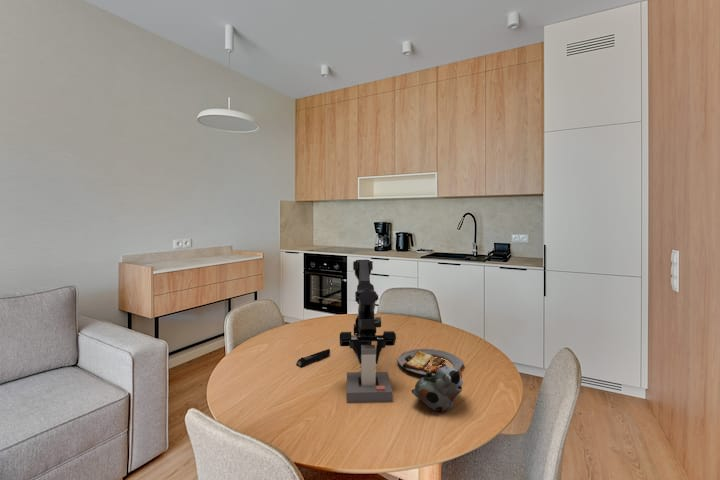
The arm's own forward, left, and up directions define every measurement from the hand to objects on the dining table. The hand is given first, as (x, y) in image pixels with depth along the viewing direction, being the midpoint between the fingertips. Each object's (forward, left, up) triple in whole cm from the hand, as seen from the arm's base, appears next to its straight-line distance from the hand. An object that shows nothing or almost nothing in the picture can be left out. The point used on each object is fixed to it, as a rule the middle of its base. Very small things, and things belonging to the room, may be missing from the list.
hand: (368, 363), depth 109 cm
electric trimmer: (+7, -32, -10) cm, 34 cm away
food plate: (-31, -7, -10) cm, 33 cm away
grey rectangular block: (0, -1, -8) cm, 8 cm away
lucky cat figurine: (-16, +15, -10) cm, 24 cm away
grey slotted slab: (-1, -1, -9) cm, 10 cm away
